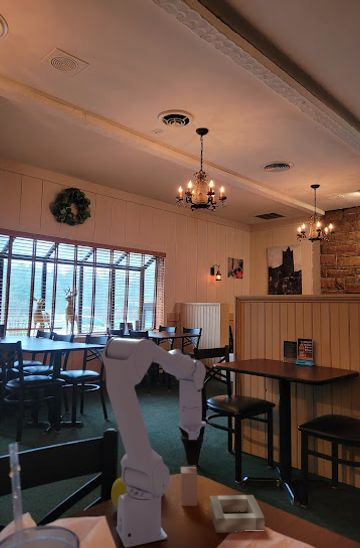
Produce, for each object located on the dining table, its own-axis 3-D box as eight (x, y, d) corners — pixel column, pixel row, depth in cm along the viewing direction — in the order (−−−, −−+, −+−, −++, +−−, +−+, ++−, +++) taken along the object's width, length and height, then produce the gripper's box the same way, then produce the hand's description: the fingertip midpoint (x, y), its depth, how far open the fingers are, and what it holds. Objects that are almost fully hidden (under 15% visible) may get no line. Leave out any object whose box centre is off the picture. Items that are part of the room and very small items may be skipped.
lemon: (129, 516, 98) (129, 482, 99) (107, 514, 99) (108, 480, 100) (136, 505, 104) (136, 473, 104) (115, 503, 105) (116, 471, 105)
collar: (216, 532, 92) (216, 518, 92) (209, 508, 103) (209, 495, 103) (264, 531, 92) (264, 517, 93) (253, 507, 103) (253, 495, 104)
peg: (197, 505, 104) (197, 472, 105) (181, 505, 104) (181, 473, 105) (195, 498, 108) (195, 466, 109) (180, 498, 108) (180, 466, 108)
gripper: (209, 413, 101) (209, 469, 100) (202, 398, 115) (202, 448, 114) (180, 413, 100) (180, 470, 100) (177, 398, 115) (177, 448, 114)
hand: (190, 458), depth 107 cm, fingers open, 7 cm apart
